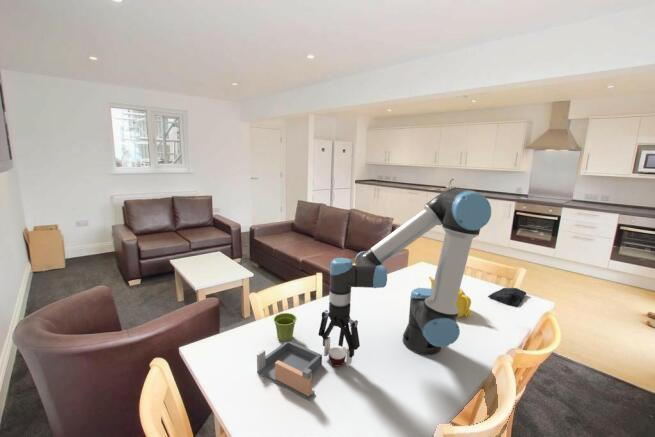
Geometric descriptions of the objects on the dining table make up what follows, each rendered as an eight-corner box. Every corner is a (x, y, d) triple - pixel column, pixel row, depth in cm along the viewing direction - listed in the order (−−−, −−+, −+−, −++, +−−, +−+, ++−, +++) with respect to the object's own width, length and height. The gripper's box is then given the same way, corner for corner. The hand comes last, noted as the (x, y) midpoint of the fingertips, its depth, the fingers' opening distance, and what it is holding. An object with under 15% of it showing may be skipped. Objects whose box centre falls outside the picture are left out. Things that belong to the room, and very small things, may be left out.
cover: (312, 393, 98) (312, 370, 96) (308, 397, 96) (308, 374, 95) (278, 375, 105) (278, 354, 104) (274, 379, 104) (274, 357, 102)
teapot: (415, 303, 163) (418, 279, 160) (437, 296, 172) (440, 272, 170) (458, 325, 142) (462, 297, 140) (480, 315, 152) (484, 289, 149)
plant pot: (300, 334, 132) (300, 315, 131) (290, 346, 123) (290, 326, 122) (280, 329, 135) (280, 311, 133) (269, 341, 126) (269, 322, 125)
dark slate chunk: (531, 297, 174) (532, 289, 174) (516, 309, 161) (517, 300, 160) (502, 288, 186) (503, 281, 185) (485, 298, 172) (486, 290, 171)
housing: (335, 371, 110) (336, 353, 109) (308, 400, 96) (308, 380, 95) (287, 349, 122) (287, 333, 120) (257, 372, 108) (256, 354, 107)
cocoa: (334, 372, 110) (335, 343, 107) (322, 363, 114) (323, 334, 111) (352, 360, 116) (354, 332, 113) (340, 352, 120) (341, 324, 117)
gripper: (372, 306, 107) (368, 364, 112) (320, 290, 119) (319, 344, 123) (362, 314, 101) (359, 376, 106) (309, 297, 113) (308, 353, 117)
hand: (337, 358), depth 114 cm, fingers open, 9 cm apart
